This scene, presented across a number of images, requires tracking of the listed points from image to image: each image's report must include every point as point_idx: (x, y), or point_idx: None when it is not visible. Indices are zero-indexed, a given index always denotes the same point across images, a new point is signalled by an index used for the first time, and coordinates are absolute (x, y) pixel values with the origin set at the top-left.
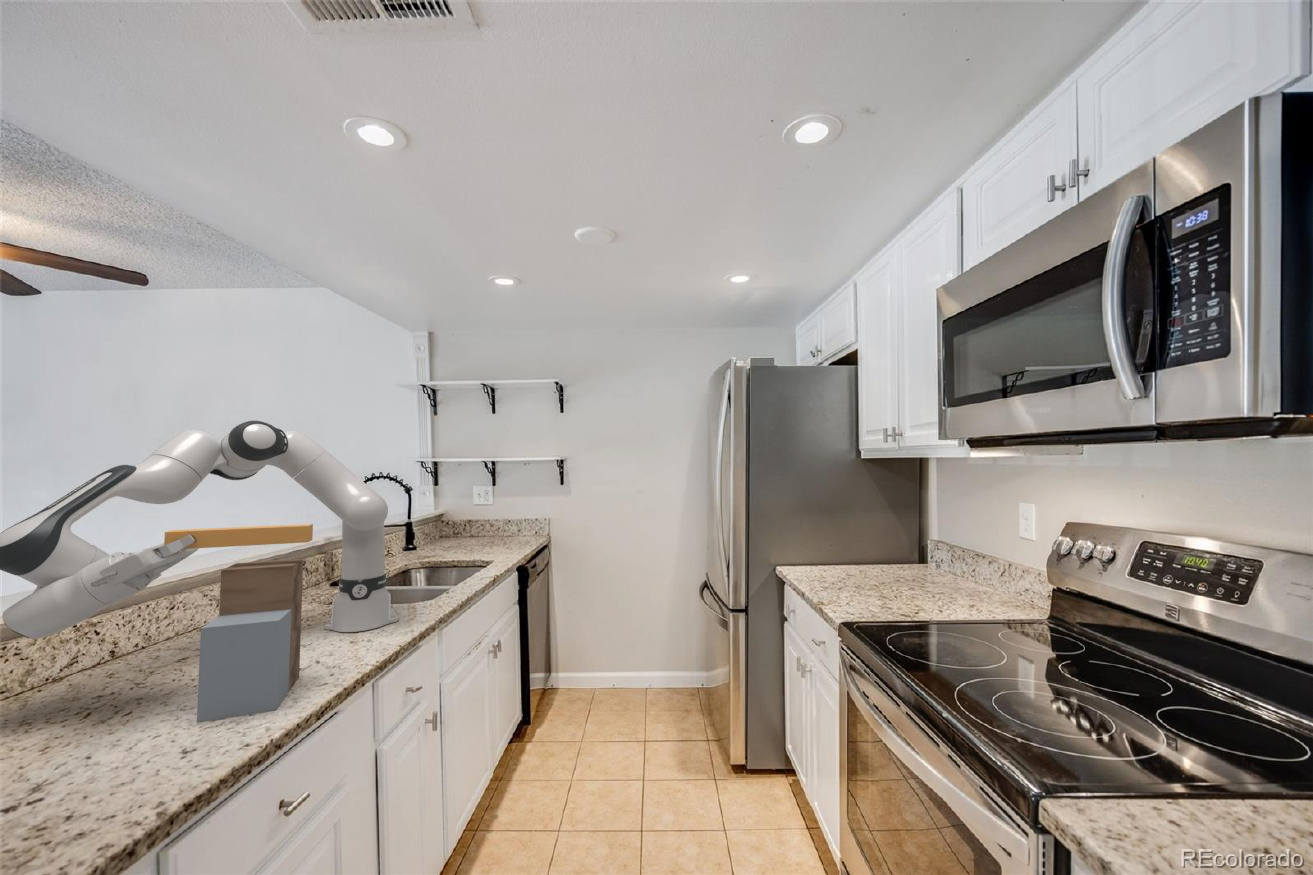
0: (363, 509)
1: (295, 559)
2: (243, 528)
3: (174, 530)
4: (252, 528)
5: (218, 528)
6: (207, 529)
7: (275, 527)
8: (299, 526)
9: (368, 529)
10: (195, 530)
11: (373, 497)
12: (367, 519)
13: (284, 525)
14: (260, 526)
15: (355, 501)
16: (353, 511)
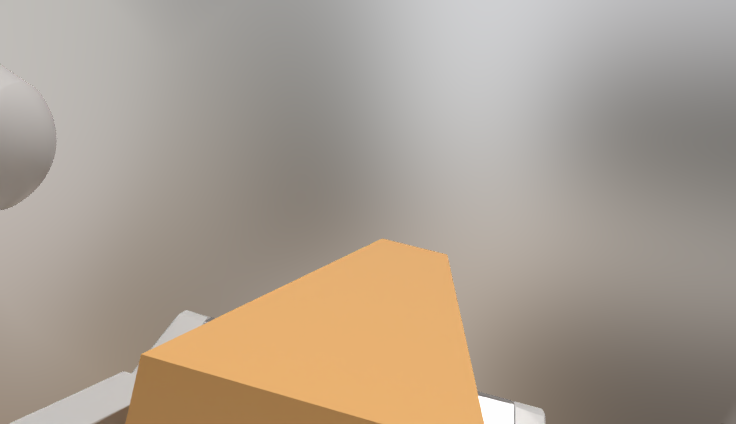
0: (37, 136)
1: None
2: (433, 277)
3: (254, 366)
4: (450, 276)
5: (343, 279)
6: (379, 301)
7: (448, 265)
8: (447, 257)
9: (2, 209)
10: (416, 329)
11: (39, 92)
12: (35, 175)
13: (377, 245)
14: (363, 253)
15: (1, 95)
16: (2, 136)
